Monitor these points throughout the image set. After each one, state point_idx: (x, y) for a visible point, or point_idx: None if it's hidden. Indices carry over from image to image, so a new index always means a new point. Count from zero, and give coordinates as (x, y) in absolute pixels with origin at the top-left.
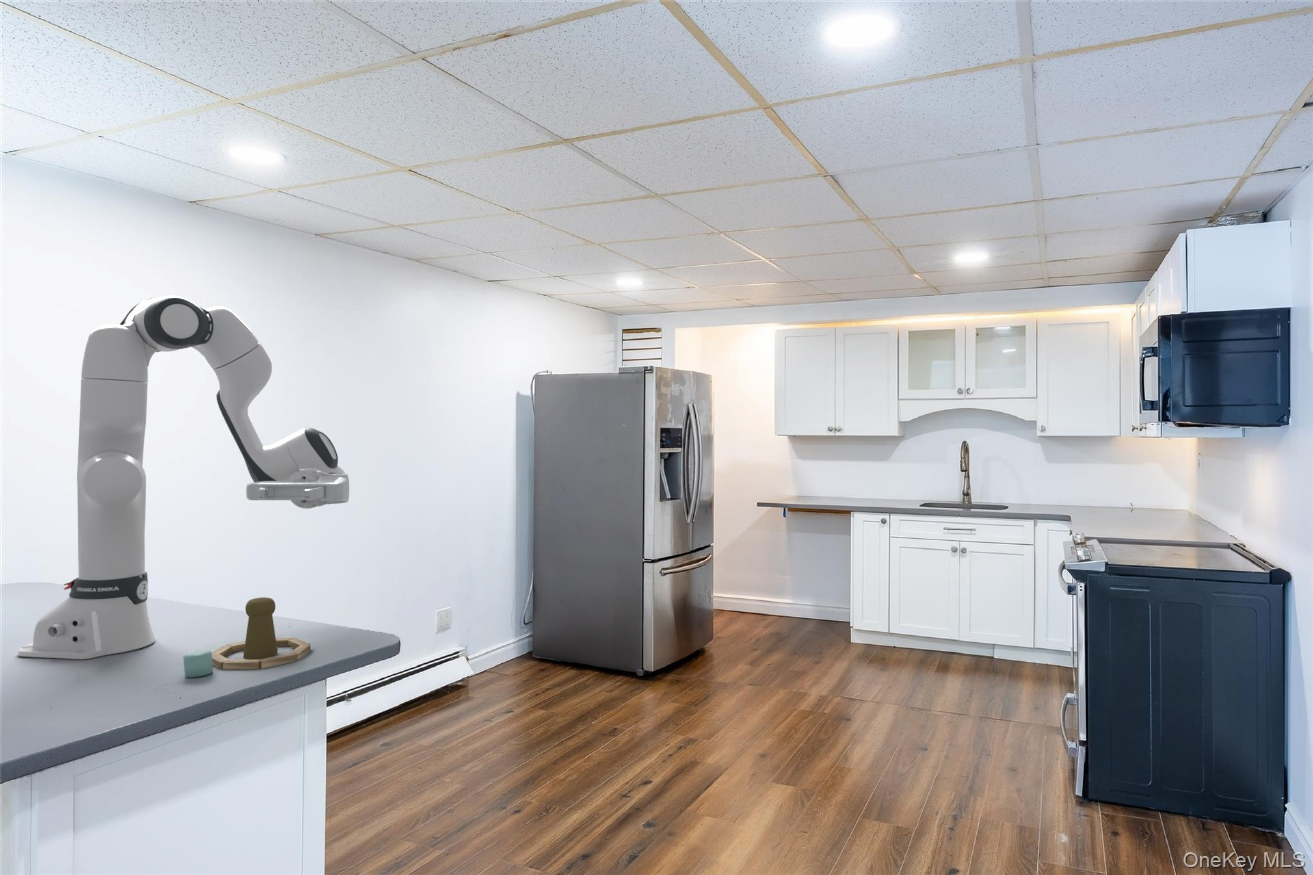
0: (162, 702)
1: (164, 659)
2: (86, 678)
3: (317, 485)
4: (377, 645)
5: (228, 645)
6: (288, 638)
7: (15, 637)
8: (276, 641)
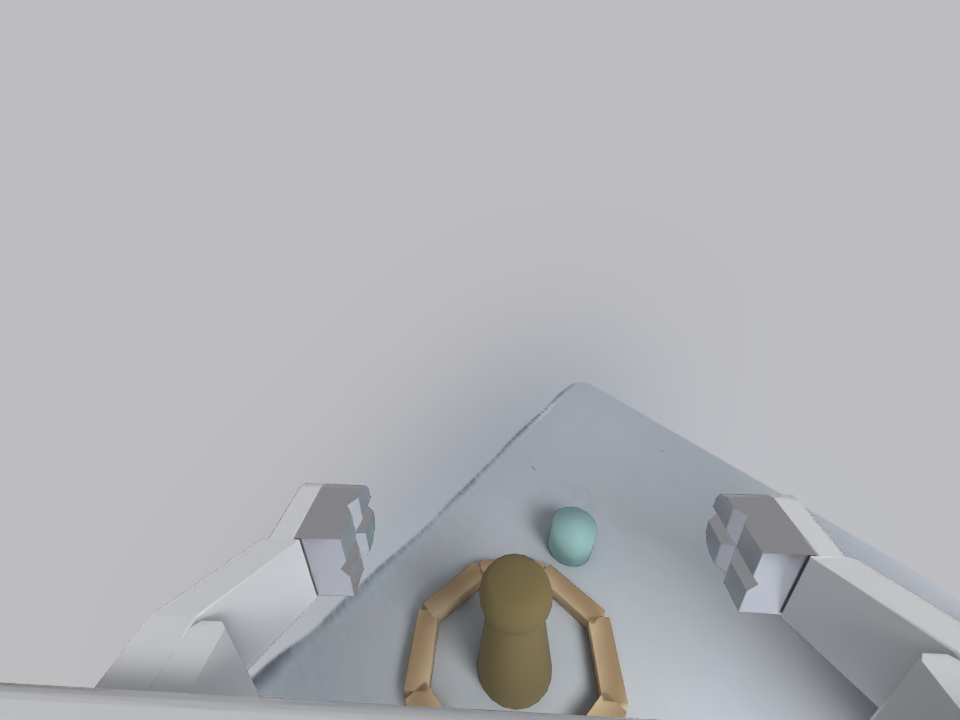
0: (545, 457)
1: (719, 651)
2: None
3: (182, 691)
4: None
5: (615, 702)
6: None
7: None
8: None
